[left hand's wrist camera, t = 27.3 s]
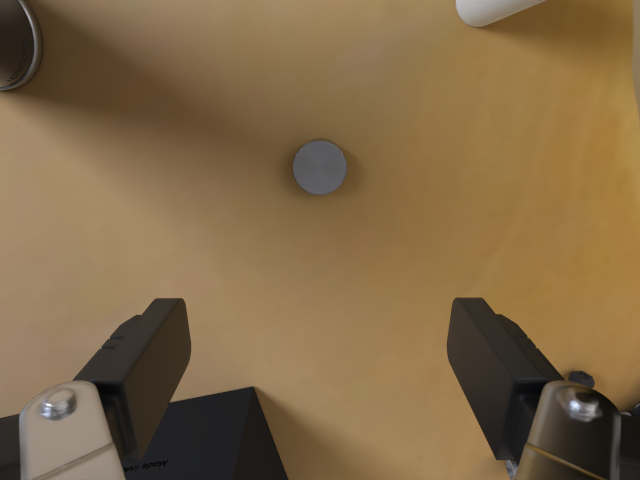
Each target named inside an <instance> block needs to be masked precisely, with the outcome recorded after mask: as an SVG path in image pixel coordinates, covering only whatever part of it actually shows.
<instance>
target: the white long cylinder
mask: <svg viewBox="0 0 640 480" xmlns="http://www.w3.org/2000/svg"><path fill="white" fill-rule="evenodd" d="M544 1H546V0H456V8H457V12H458V14H459V16H460V18H461V19H462V20H463V21H464V22H465V23H466V24H468V25H470V26H473V27H483V26H486V25H489V24H491V23H493V22H496V21H498V20H501V19H503V18H505V17H508V16H510V15H513V14H515V13H517V12H520V11H522V10H525V9H527V8H529V7H532V6H534V5H537V4H539V3H541V2H544Z"/></svg>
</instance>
